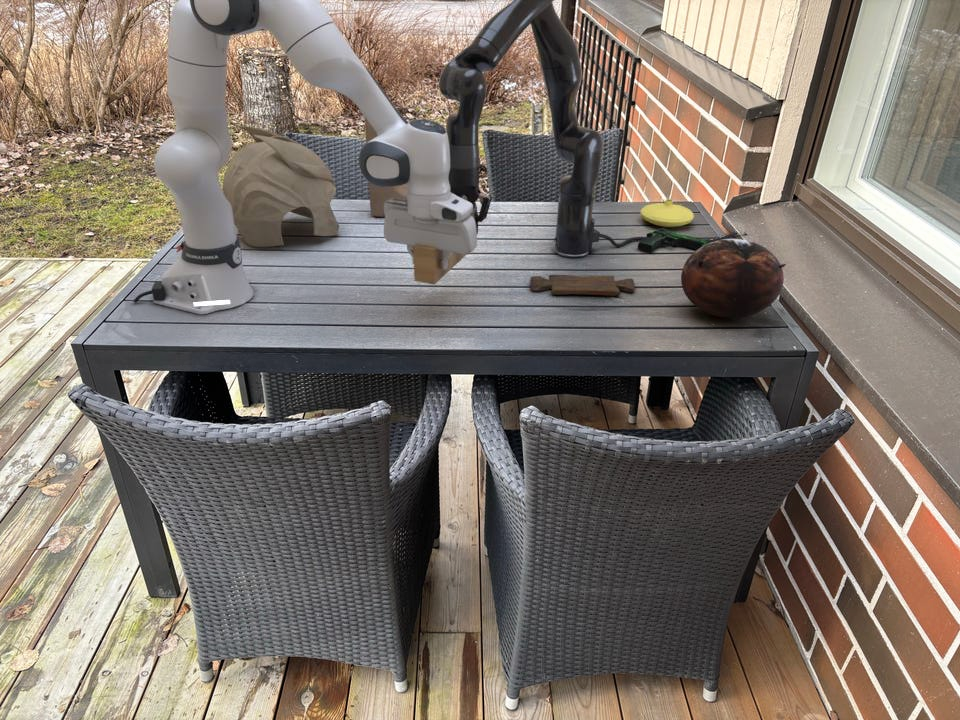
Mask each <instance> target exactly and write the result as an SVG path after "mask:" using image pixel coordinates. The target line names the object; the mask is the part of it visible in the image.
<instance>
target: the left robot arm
mask: <svg viewBox="0 0 960 720" xmlns="http://www.w3.org/2000/svg"><path fill="white" fill-rule="evenodd" d="M261 31H267V32H268V33H270V34H271V35H272V36H273V37H274V39H275V40H276V42H277V43H278V44H279V46H280V47H281V49H282V51H283V52H284V54H285V56H286V57H287V59H288V60H289V62H290V64H291V65H292V67H293V68H294V69H295V71H296V72H297V73H298V74H299V75H300V76H301V77H302V78H303V79H304V80H305V81H306V83H308V84H309V85H312V86H313V87H316V88H320V89H325V90H329V91H333V92H336V93H338V94H341V95H343V96H345V97H347V98H348V99H349V100H351V102H352V103H354V104H355V105H356V107H357V108H358V109H359V111H360V112H361V114H362V115H363V117H365V118H366V119H367V120H368V122H369V123H370V124H371V126H372V127H373V128H374V130H375V131H376V133H377V135H378V136H377V137H375V138H374V139H372V140H370V141H369V142H368V143H367V144H366V143H365V144H364V145H363V146H362V148H361V149H360V151H359V154H358V165H359V169H360V172H361V173H362V175H363V176H364V178H365V179H366V181H368V183H369V182H370V183H372V184H374V185H376V186H380V187H387V186H398V185H406V187H407V200H399V199H395V198H390V200H387V201H386V202H385V204H384V214H385V217H384V223H383V237H384V239H385V240H386V242H389V243H394V244H400V245H405V246H406V250H407V252H408V254H409V255H410V257H411V259H412V260H411V261H412V265H414V252H413V246H415V245H416V244H417V245H423V246H429V247H435V248H436V249H437V250H441V251H443V255H445V257H444V259H441V260H440V261H439V262H438V265H439V269H443V270H446V269H447V267H448V260H449V258H450V256H451V255H452V253H459V254H465V255H466V256H468V255H470V254H471V253H473V252H474V251H475V250H476V248H477V245H478V234H477V230H476V223H475V220H474V218H473V217H472V216H471V215H470V214H471V213H472V211H473V204H472V203H470V202H468V201H466V200H464V199H462V198H460V197H458V196H456V195H454V194H453V193H451V192H450V184H449V179H448V177H449V172H450V148H449V140H448V135H447V132H446V128H445V127H444V126H443V125H441V124H440V123H438V122H437V121H435V120H434V121H433V120H429V119H420V118H418V119H417V118H416V119H412V120H410V121H408V120H407V119H406V118H405V117H404V116H403V115H402V114H401V113H400V111H399V110H398V108H397V107H396V106H395V104H394V103H393V101H391V99H390V97H389V96H388V95H387V93H386V92H385V91H384V89H383V88H382V86H381V85H380V83H379V82H378V81H377V79H376V78H375V77H374V75H373V74H372V73H371V71H370V70H369V69H368V67H366V65H365V64H364V62H362V61H361V59H360V58H359V57H358V55H356V53H355V52H354V51H353V49H352V48H351V47H350V45H349V42H347V40H346V39H345V37H344V36H343V34H342V33H341V31H340V29H339V28H338V26H337V24H336V23H335V21H334V20H333V18H332V17H331V16H330V14H329V13H328V11H327V10H326V8H325V6H323V4H322V3H321V1H320V0H178V1H176V2H175V3H174V5H173V8H172V10H171V15H170V21H169V26H168V33H167V34H168V36H167V50H166V51H167V52H166V53H167V54H166V55H167V62H166V63H167V66H166V68H167V71H166V73H167V74H166V75H167V79H166V80H167V81H166V82H167V85H166V86H167V87H166V89H167V90H166V92H167V97H168V99H169V101H170V102H171V105H172V108H173V114H174V119H175V130H174V133H173V135H171V136H169V137H168V138H166V139H165V140H164V141H163V142H162V143H161V145H160V146H159V148H158V149H157V151H156V154H155V156H154V159H153V168H154V172H155V174H156V176H157V178H158V179H159V181H160V182H161V184H163V185H164V186H165V187H166V188H167V189H168V190H169V193H170V195H171V196H172V200H173V201H174V204H175V205H176V208H177V211H178V214H179V219H180V223H181V224H180V225H181V228H182V233H183V237H184V240H183V241H182V242H181V243H180V244H179V245H177V246H176V247H175V249H177V250H176V251H175V252H176V253H179V252H180V251H181V256H180V257H179V258H178V259H176V260H175V261H174V262H173V263H172V264H171V265H170V266H169V267H168V268H166V270H165V271H164V272H163V274H162V276H161V281H160V280H159V281H154V282H153V285H152V287H151V288H150V289H151V290H147V291H144V292H142V293H140V294H138V295H137V296H135V298H134V299H133V303H134V304H136V303H137V302H139V301H140V300H141V298H143V297H147V296H149V295H152V297H153V299H152V300H153V303H154V304H156V305H160V306H164V307H169V308H172V309H175V310H180V311H184V312H187V313H188V312H189V313H193V314H197V315H207V314H210V313H213V312H217V311H223V310H229V309H232V308H235V307H239V306H242V305H243V304H245V303H247V302H249V301H250V300H251V299H253V297H254V294H255V292H254V290H253V288H252V286H251V284H250V282H249V279H248V277H247V275H246V270H245V268H244V265H243V253H242V252H243V251H242V247H241V241H240V237H239V236H238V235H237V228H236V226H235V223H234V217H233V211H232V206H231V204H230V202H229V201H228V200H227V199H226V197H225V195H224V193H223V187H222V186H221V183H220V178H219V174H220V171H221V170H222V169H223V168H224V167H226V165H227V163H228V161H230V160H229V159H230V157H231V153H232V149H233V141H232V138H231V135H230V130H229V122H228V115H227V104H226V103H227V100H226V99H227V97H226V96H227V72H228V71H227V70H228V47H229V42H230V39H231V38H232V36H243V35H250V34H253V33H255V32H261ZM365 118H364V119H365ZM389 202H390V203H389Z"/></svg>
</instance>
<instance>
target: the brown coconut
mask: <svg viewBox="0 0 960 720" xmlns="http://www.w3.org/2000/svg"><path fill="white" fill-rule="evenodd" d="M786 265H787V264H786V263H780V260H779V259H778V258H777V257H776V255H774V254H773V253H772V252H771V251H770V250H769V249H767V247H764V246H762V245H761V244H759V243H756V242H753V241H750V240H746V239H740V238H725V239H721V240H718V241H714V242H708V244H706V245H704V246H702V247H701V248H699V249H698V250H696V249H695V251H694V252H693V253H691V255H689V257H688V258H687V259H686V261H685V263H684V265H683V267H682V270H681V273H680V276H681V277H680V282H681V287H682V289H683V293H684V294H685V296H686V297H687V299H688V300H689V301H690V303H692V305H693V306H695V307H696V308H698V309H699V310H700V311H702V312H704V313H705V314H706V313H707V314H708V315H711V316H715V317H718V318H726V319H739V318H741V319H742V318H746V317H750V316H753V315H756V314H758V313H761V312H762V311H764V310H766V309H767V308H769V307H770V306H771V305H772V304H773V303H775V301H776V300H777V299H778V297H779V296H780V294H781V292H782V289H783V287H784V279H785V278H784V270H783V268H784V267H785V266H786Z"/></svg>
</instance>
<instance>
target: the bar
mask: <svg viewBox="0 0 960 720" xmlns="http://www.w3.org/2000/svg"><path fill="white" fill-rule="evenodd" d="M413 252H414V264H413V277H414V279H413V280H414V282H419V283H424V284H430V285H436V284H437V283H438V282H439V281H440V280H441V279H442V278H443V277H445V275H447V274H448V273H449V272H450V271H451V270H452V269H453V268H454V267H455V266H457V264H458V263H460V261H462V260H463V259H464V258H465V257H466V256H467V255H465V254H459V253H452V255H451V256H450V258H449V260H448V267H447V269H446V270H443V269H439V265H438V262H439V261H440V260H441V259H444V257H445V255H443V251H441V250H437V249H436V248H435V247H429V246H423V245H417V244H416V245H415V246H413Z"/></svg>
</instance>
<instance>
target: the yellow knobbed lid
mask: <svg viewBox="0 0 960 720" xmlns="http://www.w3.org/2000/svg"><path fill="white" fill-rule="evenodd" d="M640 216H641V218H642V219H643V220H644V221H646V222H648V223H649V224H652V225H654V226H658V227H663V228H678V227H683V226H685V225H688V224H690V223H692V221H693V220H694V218H695V215H694V213H693V211H692V210H691V209H689V208H688V207H686V206H683V205H680V204H674V199H671V198H666V199H665V200H664V202H657V203H649V204H647V205H644V206H643V207H642V208H641V210H640Z"/></svg>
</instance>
